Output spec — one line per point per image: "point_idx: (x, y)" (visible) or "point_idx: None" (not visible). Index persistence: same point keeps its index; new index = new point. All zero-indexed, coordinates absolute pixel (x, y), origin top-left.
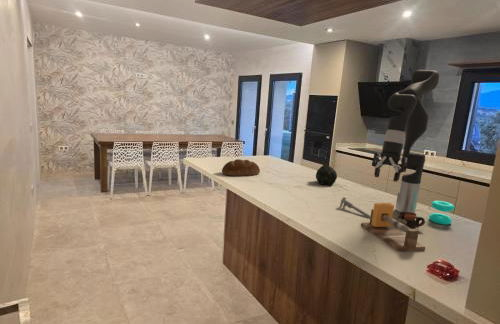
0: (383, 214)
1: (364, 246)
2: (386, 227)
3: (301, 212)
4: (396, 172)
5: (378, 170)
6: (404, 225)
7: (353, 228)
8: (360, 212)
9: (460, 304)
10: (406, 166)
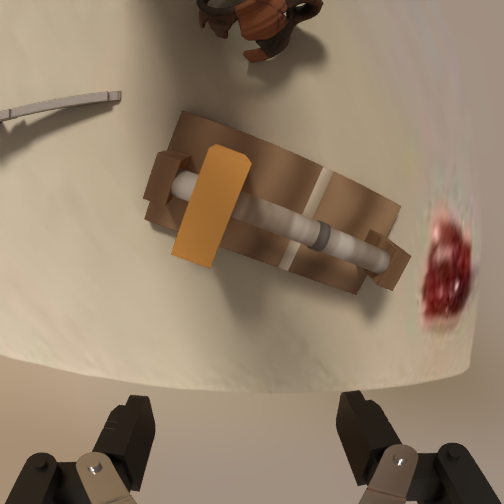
0: None
1: (273, 348)
2: None
3: (7, 311)
4: (371, 478)
5: (136, 464)
6: (358, 256)
7: (156, 268)
8: (59, 108)
9: (469, 357)
10: (488, 487)
